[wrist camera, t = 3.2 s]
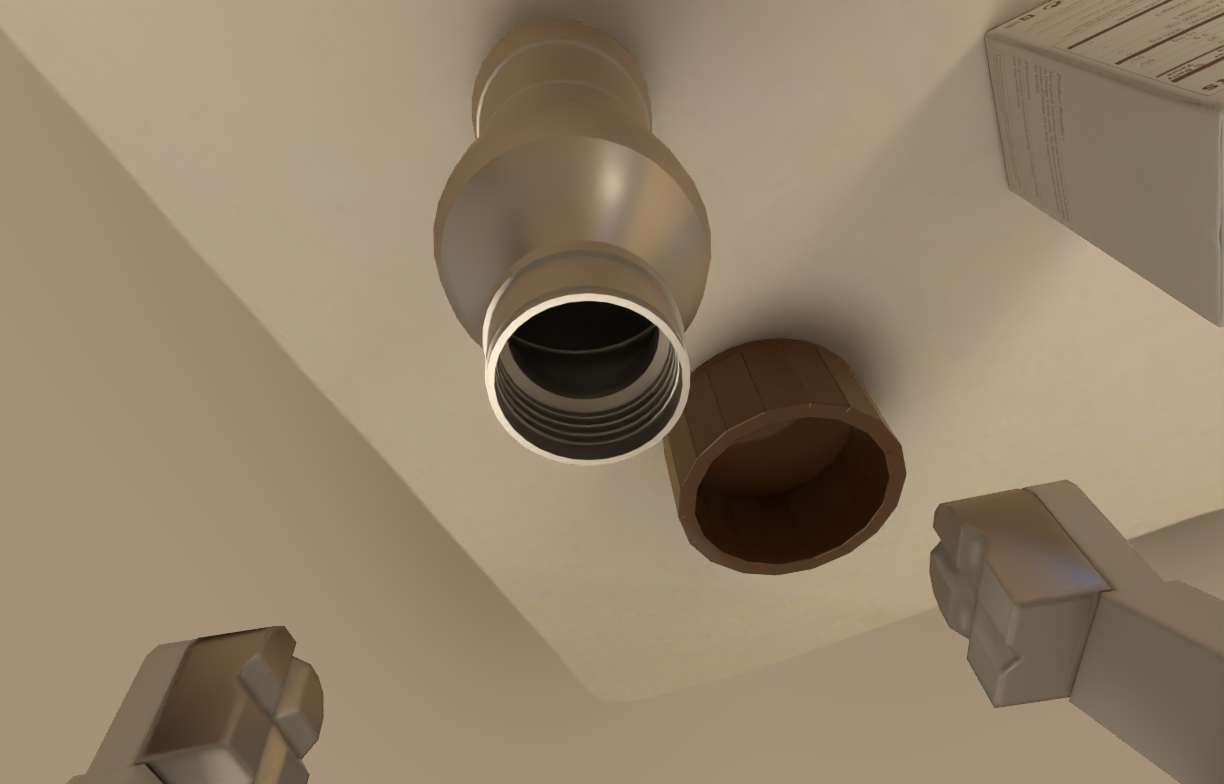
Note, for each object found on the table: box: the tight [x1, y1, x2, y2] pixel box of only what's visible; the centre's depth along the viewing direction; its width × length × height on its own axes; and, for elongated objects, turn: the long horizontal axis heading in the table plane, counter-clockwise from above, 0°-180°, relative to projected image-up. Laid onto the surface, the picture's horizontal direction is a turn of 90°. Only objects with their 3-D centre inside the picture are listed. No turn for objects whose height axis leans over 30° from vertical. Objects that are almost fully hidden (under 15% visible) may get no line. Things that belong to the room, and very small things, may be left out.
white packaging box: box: [985, 0, 1224, 327], centre depth 26 cm, size 7×7×13 cm
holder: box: [663, 339, 906, 575], centre depth 37 cm, size 11×11×6 cm
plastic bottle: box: [433, 19, 711, 466], centre depth 21 cm, size 6×7×20 cm
